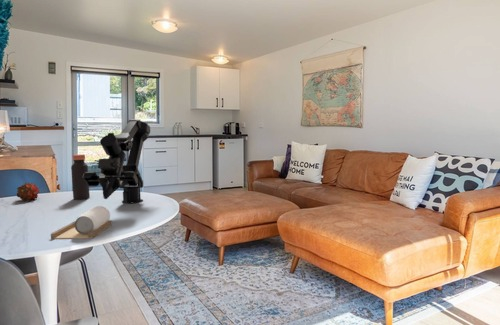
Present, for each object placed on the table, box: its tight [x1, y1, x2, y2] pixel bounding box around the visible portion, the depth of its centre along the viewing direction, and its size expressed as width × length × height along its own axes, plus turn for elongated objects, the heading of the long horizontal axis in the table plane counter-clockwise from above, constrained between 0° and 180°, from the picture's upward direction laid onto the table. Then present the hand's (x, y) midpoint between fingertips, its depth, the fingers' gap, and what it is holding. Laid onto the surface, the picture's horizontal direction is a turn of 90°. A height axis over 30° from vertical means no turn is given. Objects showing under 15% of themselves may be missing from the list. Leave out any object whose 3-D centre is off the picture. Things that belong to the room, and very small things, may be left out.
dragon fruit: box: [16, 182, 40, 202], centre depth 162 cm, size 8×8×12 cm
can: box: [75, 205, 111, 235], centre depth 112 cm, size 6×6×12 cm
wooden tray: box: [50, 220, 113, 240], centre depth 111 cm, size 14×12×2 cm
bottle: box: [70, 154, 91, 201], centre depth 162 cm, size 7×7×20 cm
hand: (105, 198), depth 127 cm, fingers closed
